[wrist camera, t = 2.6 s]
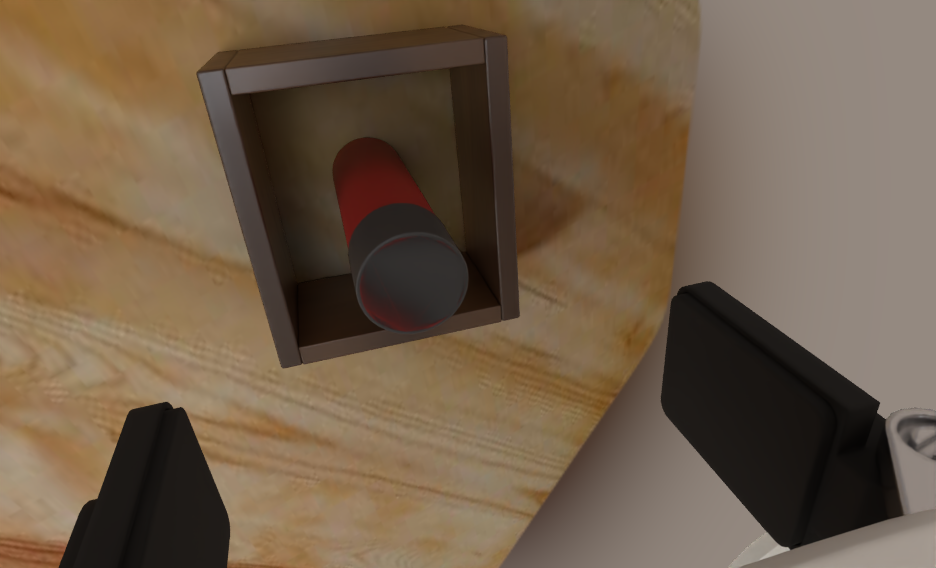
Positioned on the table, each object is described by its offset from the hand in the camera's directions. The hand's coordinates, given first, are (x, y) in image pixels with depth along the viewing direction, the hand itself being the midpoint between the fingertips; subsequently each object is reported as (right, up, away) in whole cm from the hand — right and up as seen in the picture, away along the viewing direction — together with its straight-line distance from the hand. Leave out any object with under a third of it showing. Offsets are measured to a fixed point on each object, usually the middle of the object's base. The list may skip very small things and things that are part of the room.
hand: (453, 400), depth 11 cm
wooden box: (-4, +7, +14) cm, 16 cm away
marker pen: (-4, +7, +14) cm, 16 cm away
